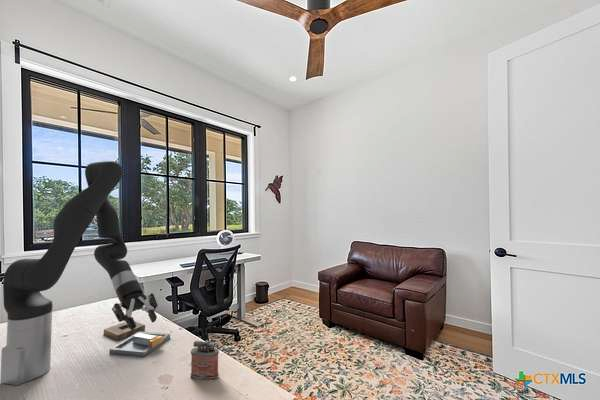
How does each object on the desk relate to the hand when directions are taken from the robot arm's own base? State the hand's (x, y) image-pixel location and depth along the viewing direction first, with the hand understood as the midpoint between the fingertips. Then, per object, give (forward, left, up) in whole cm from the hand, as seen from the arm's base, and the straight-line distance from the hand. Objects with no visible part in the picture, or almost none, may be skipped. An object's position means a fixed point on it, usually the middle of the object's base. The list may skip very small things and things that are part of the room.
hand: (144, 324), depth 93 cm
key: (+2, +5, -6) cm, 8 cm away
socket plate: (+9, +16, -8) cm, 19 cm away
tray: (+1, +2, -8) cm, 8 cm away
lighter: (-12, -29, -8) cm, 33 cm away
